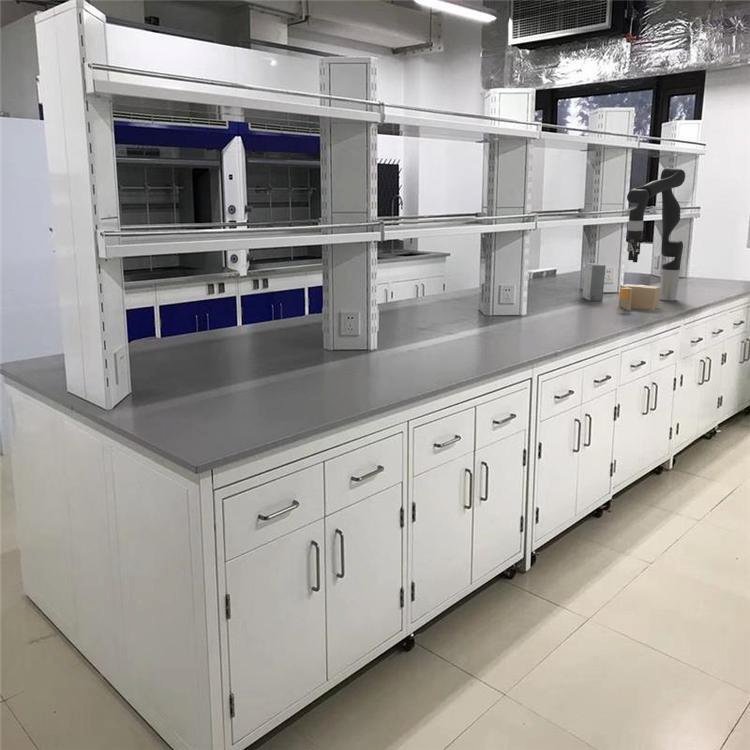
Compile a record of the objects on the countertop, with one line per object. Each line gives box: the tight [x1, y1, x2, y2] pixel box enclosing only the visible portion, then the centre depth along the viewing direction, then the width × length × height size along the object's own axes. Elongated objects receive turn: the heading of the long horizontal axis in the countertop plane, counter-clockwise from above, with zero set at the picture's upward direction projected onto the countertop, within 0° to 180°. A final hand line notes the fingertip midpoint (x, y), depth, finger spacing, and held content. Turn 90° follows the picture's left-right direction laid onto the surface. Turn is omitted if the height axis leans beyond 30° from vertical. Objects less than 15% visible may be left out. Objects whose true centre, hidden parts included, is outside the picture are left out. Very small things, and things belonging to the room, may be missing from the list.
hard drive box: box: [582, 262, 607, 302], centre depth 405 cm, size 16×8×20 cm, turn 179°
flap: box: [618, 284, 633, 312], centre depth 373 cm, size 5×16×11 cm, turn 179°
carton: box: [623, 283, 661, 311], centre depth 380 cm, size 9×18×11 cm, turn 52°
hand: (632, 261), depth 371 cm, fingers open, 8 cm apart
